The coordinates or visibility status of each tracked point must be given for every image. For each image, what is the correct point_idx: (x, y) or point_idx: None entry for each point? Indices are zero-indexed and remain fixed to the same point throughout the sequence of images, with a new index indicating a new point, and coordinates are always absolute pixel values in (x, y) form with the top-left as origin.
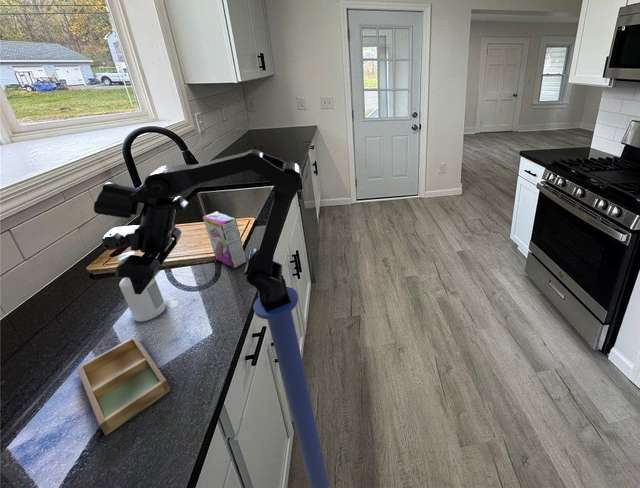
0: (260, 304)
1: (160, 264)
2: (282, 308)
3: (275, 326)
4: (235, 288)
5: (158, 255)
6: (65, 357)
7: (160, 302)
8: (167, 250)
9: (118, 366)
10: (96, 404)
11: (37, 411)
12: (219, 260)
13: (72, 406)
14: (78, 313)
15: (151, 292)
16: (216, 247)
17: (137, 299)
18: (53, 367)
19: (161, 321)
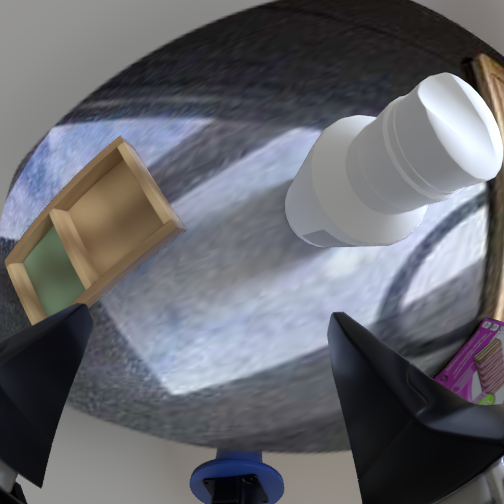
0: (233, 472)
1: (337, 379)
2: (204, 496)
3: (216, 455)
4: (338, 415)
5: (371, 423)
6: (214, 79)
7: (324, 245)
8: (369, 492)
9: (124, 212)
10: (26, 237)
11: (90, 120)
12: (476, 331)
13: (74, 173)
14: (365, 51)
15: (323, 237)
16: (500, 350)
17: (297, 195)
18: (191, 75)
19: (267, 255)
